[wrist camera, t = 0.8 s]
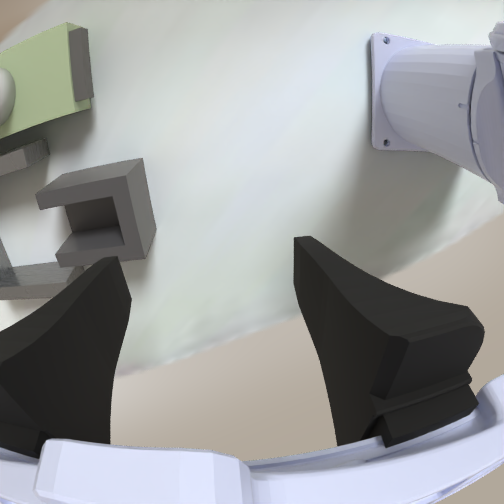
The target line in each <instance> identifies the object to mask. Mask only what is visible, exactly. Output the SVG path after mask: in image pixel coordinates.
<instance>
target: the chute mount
mask: <svg viewBox="0 0 504 504" xmlns="http://www.w3.org/2000/svg"><path fill="white" fill-rule="evenodd" d="M48 155H50V154H49V149H48V144H47V139H46V138H44V139H41V140H38V141H35V142H32V143H29V144H26V145H24V146H21V147H18V148H15V149H13V150H10V151H7V152H5V153H2V154H0V176H2V175H5V174H8V173H11V172H14V171H17V170H20V169H23V168H27V167H29V166H30V165H32V164H34V163H35V162H37V161H39V160H41V159H42V158H44V157H46V156H48ZM82 273H84V269H83V266H73V267H64V268H60V266H59V263H58V262H51V263H43V264H35V265H27V266H19V267H12V266H11V263H10V261H9V259H8V256H7V254H6V251H5V249H4V247H3V244H2V241H1V239H0V300H13V299H32V298H50V297H55V296H56V295H57V294H58V293H60V292H61V291H62V290H63V289H65V288H66V287H67V286H68V285H69V284H71V283H72V282H73V281H74V280H75V279H76V278H78V277H79V276H80V275H81V274H82Z"/></svg>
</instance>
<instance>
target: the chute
mask: <svg viewBox="0 0 504 504" xmlns="http://www.w3.org/2000/svg"><path fill="white" fill-rule="evenodd" d="M35 195H36V199H37V202H38V205H39V209H40V210H43V209H48V208H53V207H57V206H62V205H64V206H65V209H66V213H67V216H68V219H69V223H70V226H71V229H72V233H71V235H70V236H69V237H68V238H67V240H66V241H65V242H64V243H63V245H62V246H61V247H60V249H59V250H58V251H57V253H56V254H55V255H56V258H57V261H58V263H59V266H60V268H64V267H73V266H82V265H92V264H95V263H96V262H97V261H99V260H100V259H102V258H104V257H112V256H118V259H119V261H129V260H138V259H146V256H147V253H148V251H149V248H150V245H151V242H152V240H153V237H154V234H155V232H156V224H155V220H154V215H153V210H152V205H151V200H150V195H149V190H148V185H147V179H146V174H145V168H144V162H143V158H139V159H133V160H127V161H122V162H117V163H111V164H106V165H102V166H97V167H92V168H87V169H83V170H78V171H74V172H70V173H66V174H62V175H61V176H59V177H58V178H57V179H55V180H54V181H52V182H51V183H50V184H48V185H47V186H46V187H44V188H43V189H42V190H41V191H39V192H38V193H37V194H35Z"/></svg>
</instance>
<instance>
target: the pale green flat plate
mask: <svg viewBox="0 0 504 504" xmlns="http://www.w3.org/2000/svg"><path fill="white" fill-rule="evenodd" d="M93 97H94V94H93V86H92V77H91V67H90V56H89V43H88V29H85V28H83V27H81V26H77V25H74V24H71V23H68V22H66V23H63V24H61V25H58V26H56V27H54V28H51V29H49V30H46V31H44V32H42V33H40V34H37V35H35V36H33V37H31V38H29V39H27V40H25V41H23V42H21V43H19V44H17V45H15V46H13V47H11V48H9V49H7V50H5V51H3V52H2V53H0V139H2V138H4V137H6V136H9V135H11V134H14V133H16V132H19V131H21V130H24V129H27V128H29V127H32V126H35V125H38V124H41V123H44V122H46V121H49V120H52V119H55V118H59V117H62V116H65V115H68V114H72V113H75V112H78V111H82V110H85V109H89V108H91V104H90V98H93Z"/></svg>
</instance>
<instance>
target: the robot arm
mask: <svg viewBox="0 0 504 504" xmlns="http://www.w3.org/2000/svg"><path fill="white" fill-rule="evenodd" d="M383 38H386V39H387V44H385V43H384V41H383ZM489 40H490V43H491V45H473V44H444V45H435V44H431V43H428V42H424V41H419V40H415V39H411V38H406V37H401V36H396V35H391V34H386V33H380V32H376V33H373V34H372V35H371V58H372V141H371V142H372V146H373V147H374V148H376V149H378V150H403V151H426V152H432V153H434V154H436V155H438V156H440V157H443V158H445V159H447V160H449V161H451V162H453V163H455V164H457V165H459V166H461V167H463V168H464V169H466V170H468V171H470V172H472V173H474V174H476V175H478V176H479V177H481V178H483V179H485V180H486V181H488V182H490V183H492V184H493V185H494V186H495V188H496V191H497V194H498V201H500V202H501V203H503V204H504V21H500V22H497V23H496V25H495V27H494V29H493V31H492V32H490V33H489ZM386 139H387V144H386V145H384V140H386ZM294 287H295V291H296V296H297V300H298V304H299V307H300V309H301V312H302V315H303V317H304V320H305V322H306V325H307V327H308V330H309V332H310V335H311V338H312V340H313V343H314V346H315V348H316V351H317V354H318V357H319V360H320V364H321V368H322V372H323V376H324V380H325V384H326V389H327V393H328V398H329V402H330V407H331V412H332V418H333V423H334V428H335V434H336V440H337V447H334V448H329V449H324V450H319V451H314V452H309V453H303V454H297V455H291V456H285V457H277V458H270V459H261V460H252V461H240V460H239V459H237V458H236V457H235V456H233V455H229V454H225V453H221V452H217V451H213V450H204V449H189V448H156V447H134V446H121V445H110V416H111V399H112V389H113V381H114V374H115V369H116V365H117V361H118V357H119V354H120V350H121V346H122V343H123V339H124V336H125V332H126V329H127V325H128V321H129V315H130V308H131V301H132V298H131V295H130V292H129V289H128V286H127V284H126V281H125V278H124V275H123V271H122V268H121V265H120V262H119V259H118V256H112V257H104V258H102V259H100V260H99V261H97V262H96V263H95V264H93V265H92V266H91V267H90V268H88V269H87V270H86V271H85V272H84V273H82V274H81V275H80V276H79V277H78V278H76V279H75V280H74V281H73V282H72V283H71V284H69V285H68V286H67V287H66V288H65V289H63V290H62V291H61V292H60V293H58V294H57V295H56V296H55V297H53V298H52V299H51V300H50V301H48V302H47V303H46V304H44V305H43V306H42V307H40V308H39V309H37V310H36V311H34V312H33V313H31V314H30V315H28V316H27V317H25V318H23V319H22V320H20V321H18V322H17V323H15V324H13V325H12V326H10V327H8V328H6V329H4V330H2V331H0V504H434V503H436V502H438V501H440V500H442V499H444V498H446V497H448V496H450V495H452V494H454V493H455V492H457V491H459V490H461V489H463V488H464V487H466V486H468V485H470V484H472V483H473V482H475V481H477V480H478V479H480V478H482V477H483V476H485V475H486V474H488V473H490V472H491V471H493V470H494V469H496V468H497V467H499V466H500V465H502V464H503V463H504V374H503V375H501V376H499V377H497V378H495V379H493V380H491V381H490V382H488V383H487V384H485V385H484V386H483V387H482V388H481V389H480V391H479V392H478V393H477V395H476V396H475V395H474V393H473V392H472V390H471V388H470V386H469V385H468V384H470V383H471V381H472V378H471V376H470V374H469V373H468V371H467V370H468V369H469V367H470V365H471V364H472V362H473V360H474V358H475V357H476V355H477V353H478V351H479V350H480V347H481V345H482V343H483V338H484V333H485V331H484V327H483V325H482V324H481V323H480V321H479V320H478V319H477V317H476V316H475V315H474V314H473V312H472V311H471V310H470V309H469V308H468V306H463V305H458V304H453V303H447V302H442V301H438V300H434V299H431V298H427V297H424V296H420V295H417V294H414V293H411V292H408V291H406V290H403V289H400V288H398V287H395V286H393V285H391V284H388V283H386V282H384V281H382V280H380V279H378V278H376V277H374V276H372V275H370V274H368V273H366V272H364V271H363V270H361V269H359V268H358V267H356V266H354V265H353V264H351V263H349V262H348V261H346V260H345V259H343V258H342V257H340V256H339V255H337V254H336V253H334V252H333V251H332V250H330V249H329V248H327V247H326V246H325V245H323V244H322V243H320V242H319V241H318V240H316V239H315V238H313V237H311V236H303V237H294Z"/></svg>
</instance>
